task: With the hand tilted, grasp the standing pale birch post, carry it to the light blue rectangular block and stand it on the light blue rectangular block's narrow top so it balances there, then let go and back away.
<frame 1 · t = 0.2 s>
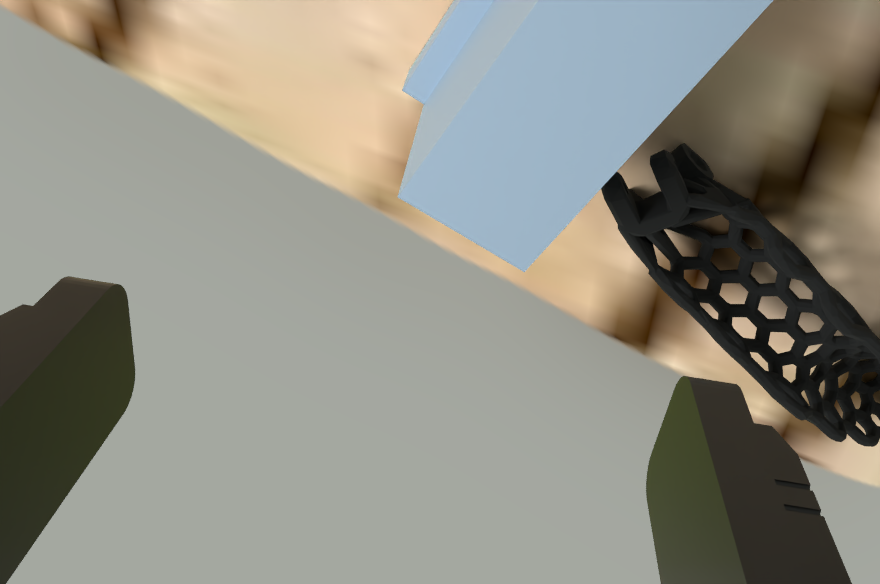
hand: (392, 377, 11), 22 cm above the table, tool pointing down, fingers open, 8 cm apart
decorative element: (773, 276, 37), on the table
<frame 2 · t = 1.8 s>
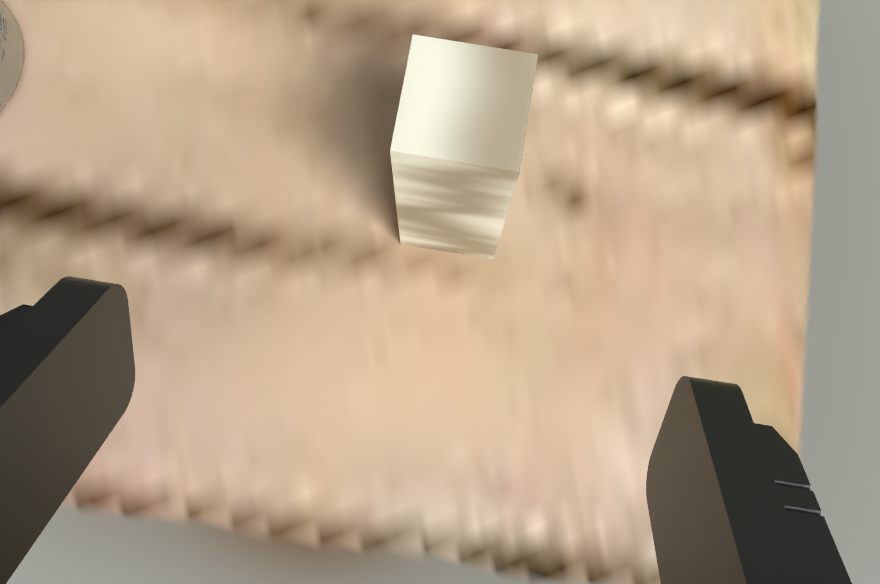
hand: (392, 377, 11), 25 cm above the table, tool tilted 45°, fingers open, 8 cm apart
birch post: (454, 207, 38), on the table
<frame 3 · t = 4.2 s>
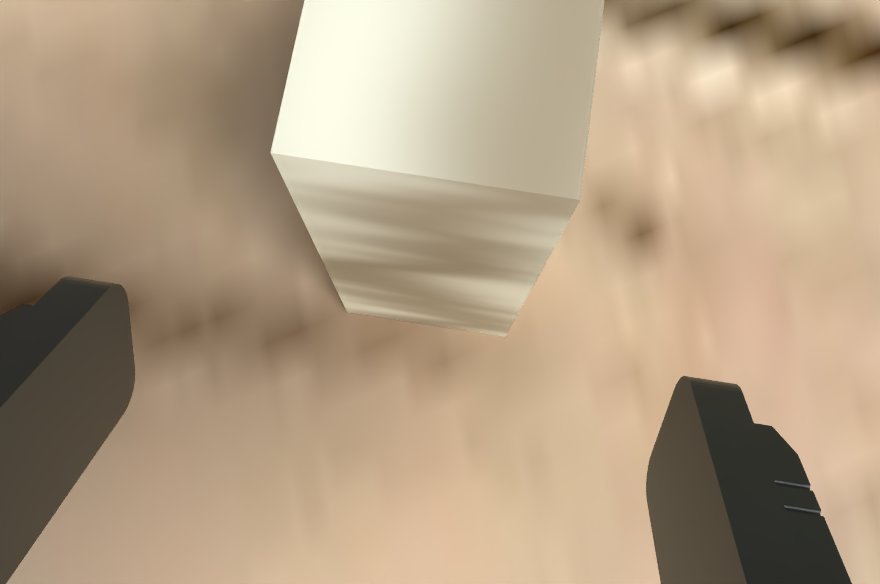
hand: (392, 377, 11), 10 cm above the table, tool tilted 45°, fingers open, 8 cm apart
birch post: (438, 248, 22), on the table
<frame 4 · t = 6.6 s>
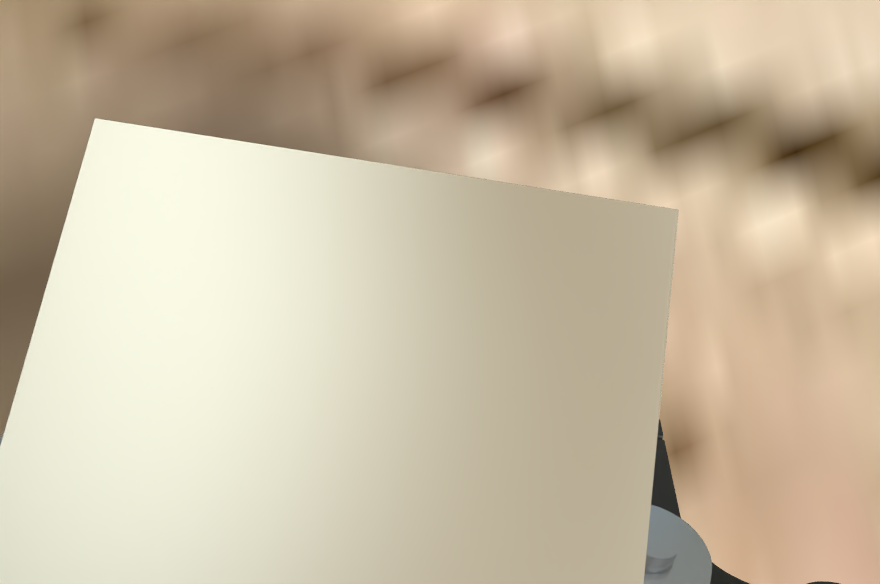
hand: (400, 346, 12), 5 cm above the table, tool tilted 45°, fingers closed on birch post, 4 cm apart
birch post: (394, 474, 16), on the table, touching gripper
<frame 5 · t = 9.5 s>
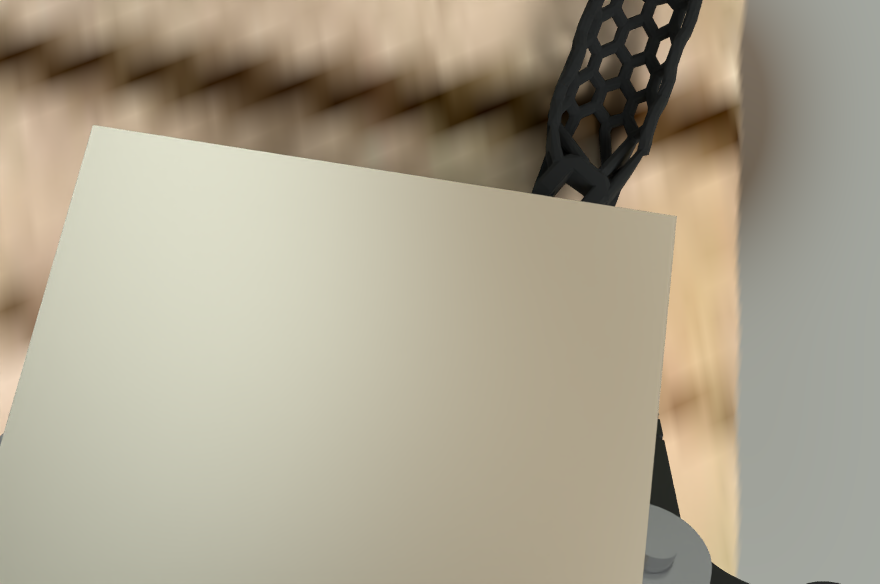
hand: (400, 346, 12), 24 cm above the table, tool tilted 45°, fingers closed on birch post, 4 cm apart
decorative element: (620, 57, 40), on the table
birch post: (393, 476, 16), point 19 cm above the table, touching gripper
when the fingers open (15 cm above the table, at t = 12.5 s): birch post drops 1 cm, resting on light blue rectangular block.
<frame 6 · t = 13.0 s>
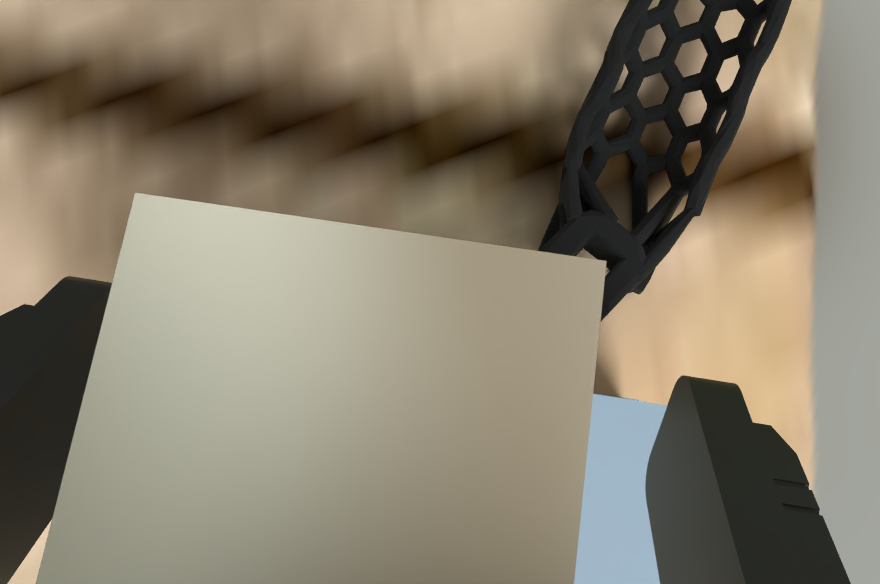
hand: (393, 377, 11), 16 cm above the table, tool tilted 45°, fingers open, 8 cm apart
decorative element: (665, 77, 30), on the table
light blue rectangular block: (407, 476, 26), on the table
birch post: (389, 475, 18), point 9 cm above the table, touching light blue rectangular block
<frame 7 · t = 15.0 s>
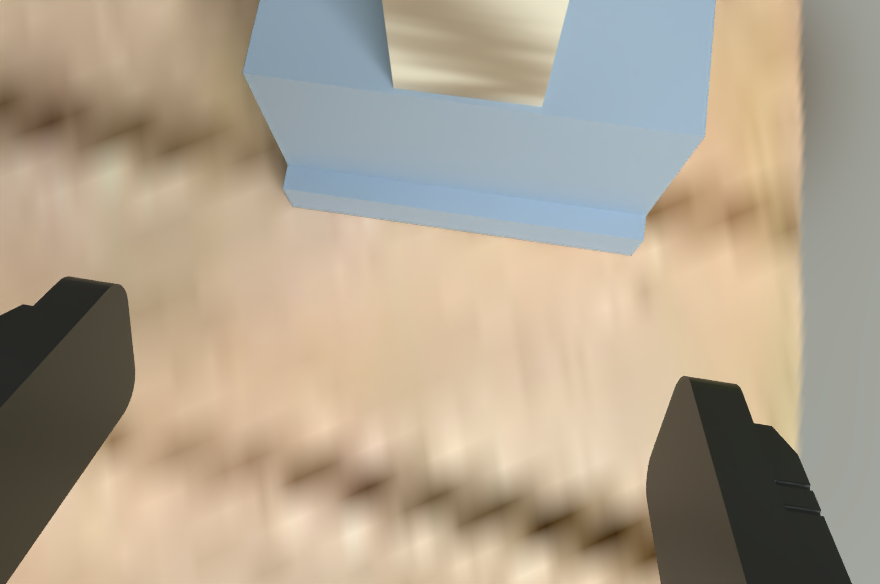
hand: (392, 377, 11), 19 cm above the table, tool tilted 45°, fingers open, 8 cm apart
light blue rectangular block: (472, 152, 33), on the table
birch post: (477, 31, 24), point 9 cm above the table, touching light blue rectangular block
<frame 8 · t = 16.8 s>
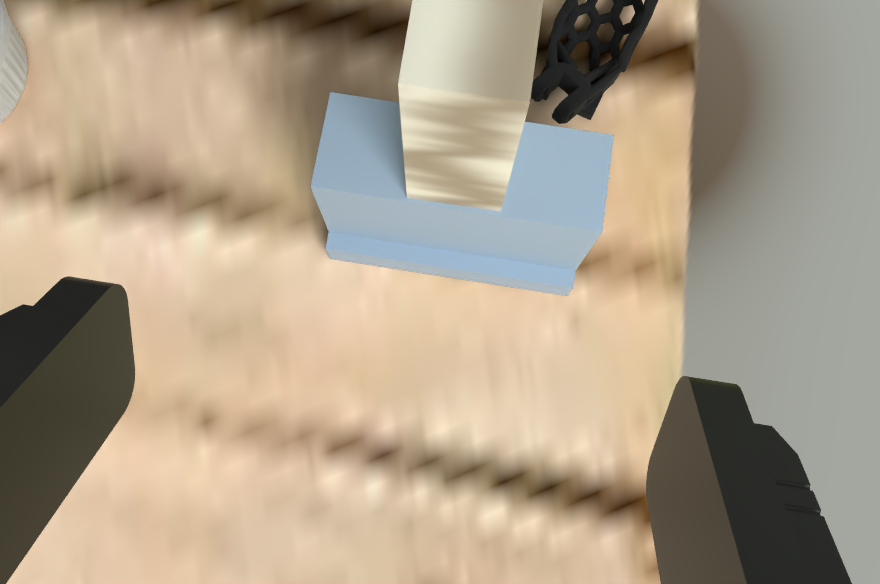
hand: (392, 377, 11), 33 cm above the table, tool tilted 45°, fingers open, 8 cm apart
decorative element: (615, 0, 50), on the table
light blue rectangular block: (457, 220, 46), on the table
birch post: (460, 160, 38), point 9 cm above the table, touching light blue rectangular block
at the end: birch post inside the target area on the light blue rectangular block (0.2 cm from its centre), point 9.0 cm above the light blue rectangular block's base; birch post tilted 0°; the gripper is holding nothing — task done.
